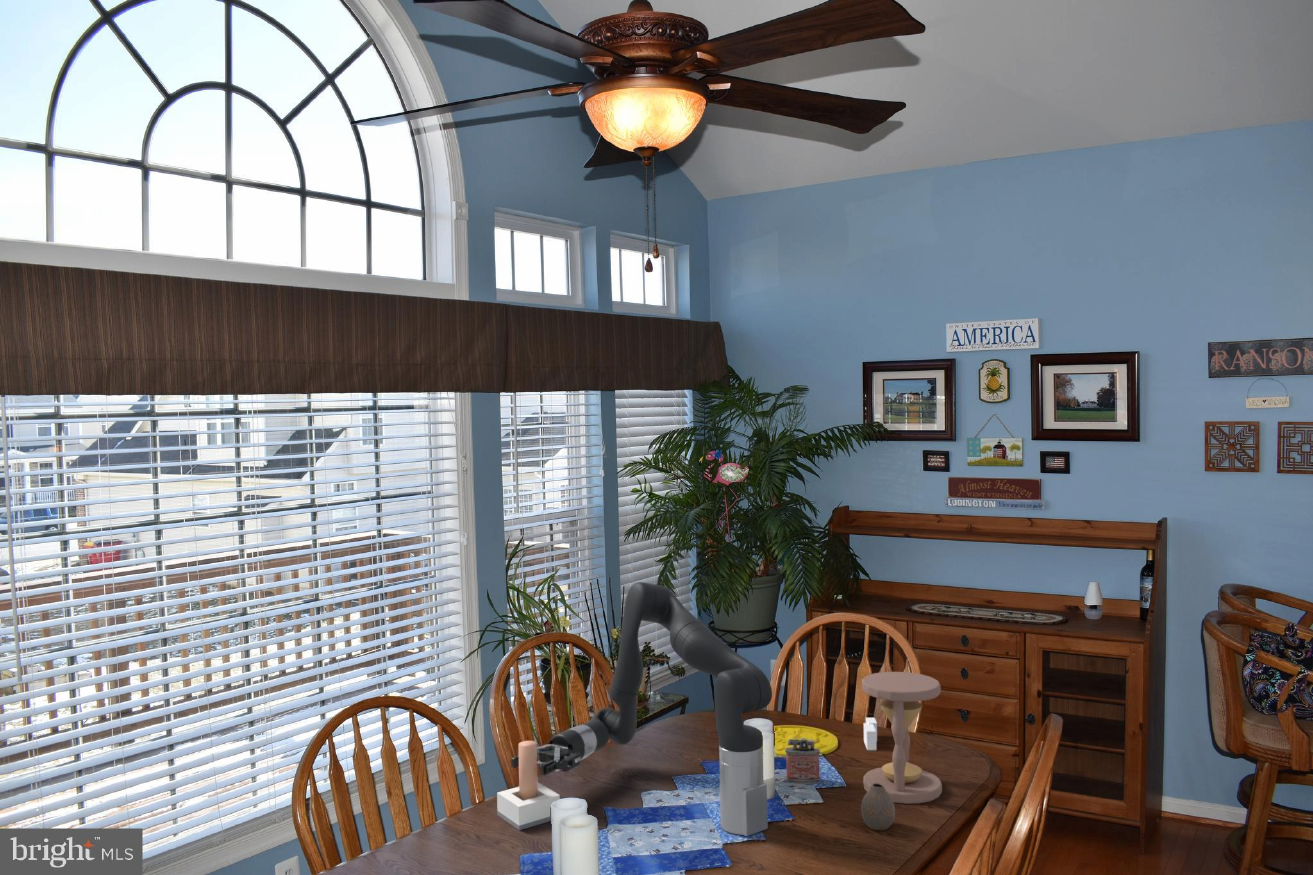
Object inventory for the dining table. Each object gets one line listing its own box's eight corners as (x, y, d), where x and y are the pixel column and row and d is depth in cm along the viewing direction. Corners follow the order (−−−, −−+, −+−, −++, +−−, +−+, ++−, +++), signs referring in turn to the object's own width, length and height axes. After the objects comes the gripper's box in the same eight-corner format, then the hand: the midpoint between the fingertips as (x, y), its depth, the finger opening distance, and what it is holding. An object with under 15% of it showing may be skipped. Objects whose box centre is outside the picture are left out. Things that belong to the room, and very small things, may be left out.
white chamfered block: (877, 756, 244) (876, 734, 243) (839, 746, 251) (838, 725, 251) (906, 741, 254) (906, 719, 254) (869, 732, 262) (868, 711, 262)
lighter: (819, 778, 228) (819, 736, 228) (820, 783, 225) (820, 741, 225) (785, 777, 229) (784, 736, 229) (786, 783, 226) (785, 741, 225)
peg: (541, 812, 209) (540, 744, 209) (525, 817, 206) (524, 748, 206) (532, 806, 212) (531, 739, 212) (516, 811, 210) (515, 743, 209)
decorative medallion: (736, 753, 248) (736, 745, 248) (763, 725, 270) (763, 718, 269) (826, 764, 238) (826, 756, 238) (846, 735, 260) (846, 727, 260)
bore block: (560, 817, 208) (559, 795, 208) (519, 830, 202) (518, 806, 202) (537, 803, 216) (537, 781, 216) (497, 815, 210) (497, 792, 210)
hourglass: (877, 770, 233) (875, 668, 232) (950, 783, 224) (948, 676, 223) (852, 795, 218) (851, 685, 217) (930, 809, 209) (928, 696, 208)
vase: (870, 816, 206) (870, 776, 206) (900, 825, 201) (900, 783, 201) (855, 827, 200) (854, 786, 200) (886, 836, 196) (885, 793, 196)
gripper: (549, 724, 226) (502, 744, 213) (597, 734, 218) (551, 755, 205) (549, 755, 226) (503, 778, 213) (598, 766, 218) (552, 790, 205)
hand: (527, 767), depth 209 cm, fingers open, 8 cm apart
